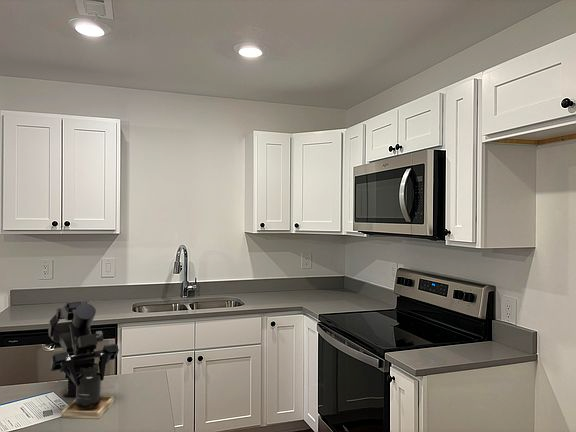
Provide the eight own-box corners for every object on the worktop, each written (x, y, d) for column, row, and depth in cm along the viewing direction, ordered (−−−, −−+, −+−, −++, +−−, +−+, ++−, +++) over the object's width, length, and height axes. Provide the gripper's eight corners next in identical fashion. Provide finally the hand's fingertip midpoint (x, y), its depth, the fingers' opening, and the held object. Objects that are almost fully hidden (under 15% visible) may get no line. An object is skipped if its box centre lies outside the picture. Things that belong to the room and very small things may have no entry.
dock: (79, 401, 142) (79, 395, 142) (114, 401, 141) (114, 396, 141) (61, 417, 131) (61, 411, 131) (99, 418, 130) (99, 412, 130)
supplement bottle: (77, 412, 131) (78, 371, 131) (74, 402, 137) (74, 363, 137) (102, 406, 135) (103, 367, 135) (98, 398, 141) (98, 359, 140)
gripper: (52, 327, 133) (59, 377, 124) (117, 318, 144) (128, 363, 136) (47, 346, 139) (53, 394, 131) (109, 336, 151) (119, 380, 142)
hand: (90, 382), depth 135 cm, fingers closed on supplement bottle, 7 cm apart
